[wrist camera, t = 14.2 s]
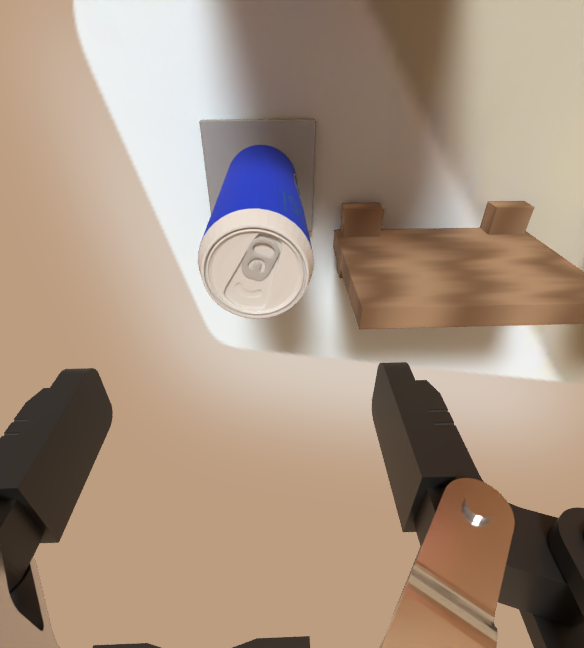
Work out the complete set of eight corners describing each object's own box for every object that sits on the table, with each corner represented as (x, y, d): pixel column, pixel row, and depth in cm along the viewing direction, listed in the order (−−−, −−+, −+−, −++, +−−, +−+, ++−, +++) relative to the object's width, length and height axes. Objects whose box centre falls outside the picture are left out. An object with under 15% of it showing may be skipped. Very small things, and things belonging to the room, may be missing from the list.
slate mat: (314, 119, 27) (315, 121, 26) (310, 227, 32) (311, 231, 31) (201, 119, 27) (199, 121, 26) (214, 228, 31) (213, 232, 31)
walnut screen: (529, 201, 31) (648, 268, 21) (505, 266, 34) (597, 350, 25) (336, 203, 30) (366, 274, 21) (331, 269, 34) (355, 357, 24)
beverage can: (281, 223, 30) (287, 337, 18) (219, 199, 29) (181, 304, 17) (307, 160, 28) (336, 244, 15) (240, 130, 26) (214, 196, 14)
